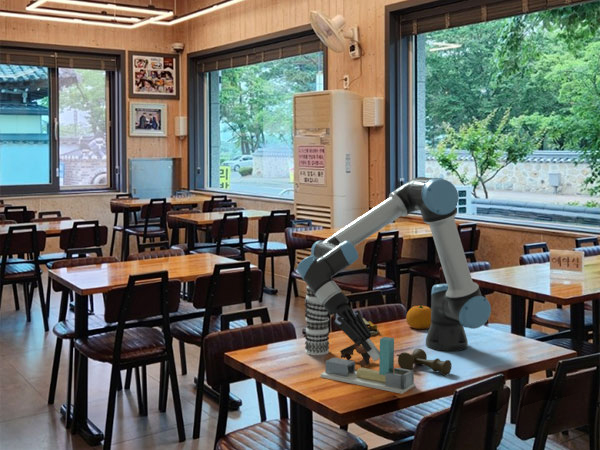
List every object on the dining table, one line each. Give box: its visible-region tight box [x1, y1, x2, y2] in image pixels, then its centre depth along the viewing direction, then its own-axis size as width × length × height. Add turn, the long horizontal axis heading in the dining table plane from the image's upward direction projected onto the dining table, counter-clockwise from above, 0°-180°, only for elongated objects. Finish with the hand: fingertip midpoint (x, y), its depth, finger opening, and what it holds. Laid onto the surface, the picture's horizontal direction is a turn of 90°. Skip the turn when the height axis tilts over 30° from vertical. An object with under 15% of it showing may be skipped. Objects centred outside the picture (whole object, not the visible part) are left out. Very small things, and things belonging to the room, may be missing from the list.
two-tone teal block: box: [356, 336, 395, 382], centre depth 228 cm, size 14×3×13 cm, turn 56°
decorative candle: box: [304, 285, 331, 356], centre depth 264 cm, size 9×9×25 cm
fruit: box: [405, 303, 431, 330], centre depth 301 cm, size 12×12×10 cm
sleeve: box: [324, 357, 356, 377], centre depth 237 cm, size 8×5×4 cm, turn 56°
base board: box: [320, 370, 416, 395], centre depth 232 cm, size 28×9×1 cm, turn 56°
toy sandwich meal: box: [362, 317, 380, 336], centre depth 293 cm, size 12×14×5 cm
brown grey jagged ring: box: [339, 343, 371, 368], centre depth 252 cm, size 12×10×8 cm
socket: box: [385, 366, 415, 390], centre depth 225 cm, size 6×7×4 cm
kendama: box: [396, 348, 453, 376], centre depth 245 cm, size 6×10×20 cm
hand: (378, 358), depth 229 cm, fingers closed
